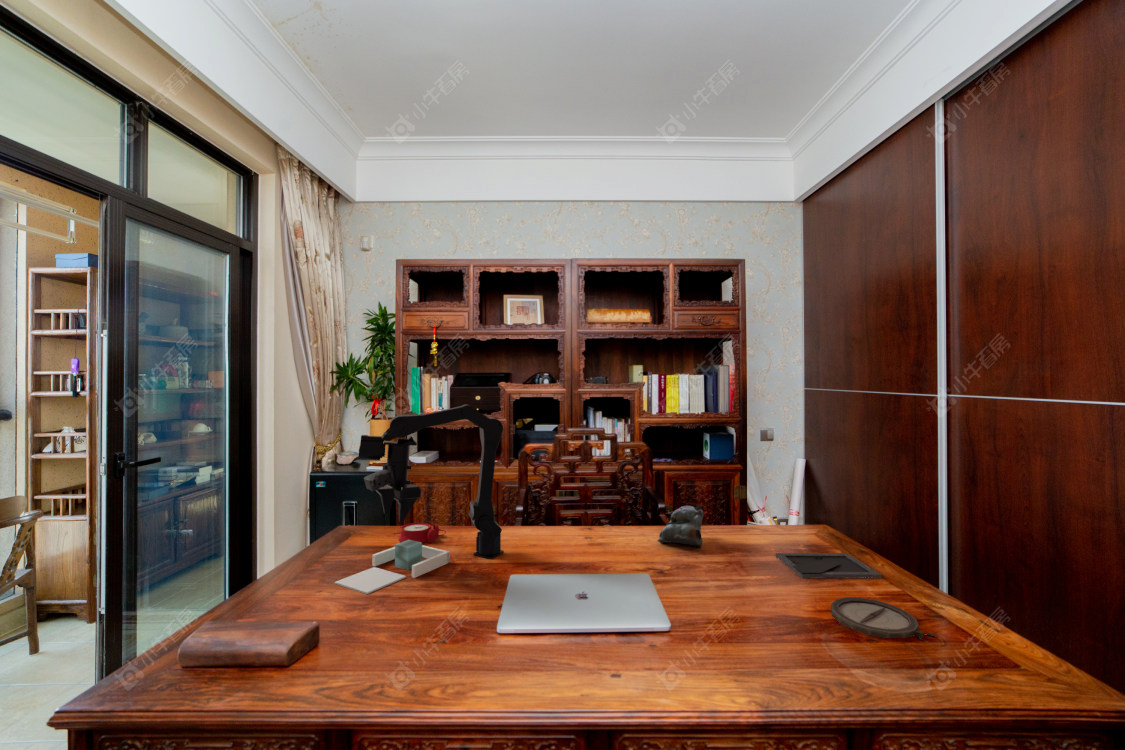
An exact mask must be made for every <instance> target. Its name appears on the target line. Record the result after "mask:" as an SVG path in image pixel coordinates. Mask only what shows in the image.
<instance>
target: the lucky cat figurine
mask: <svg viewBox="0 0 1125 750" xmlns="http://www.w3.org/2000/svg"><path fill="white" fill-rule="evenodd" d="M704 514H705V513H704V511H703V507H702V505H697V506H696V507H694V506H692V505H683V506H680V507H679V508H677V509H675V510H674V511H672V513H671V515H670V521H669V522H668V523H667V524H666V525H665V527H664V528H662V529H661V531H660V532H659V534H658V536H659V537H658V538H657V539H656V541H657V542H659V543H660V544H663V543H673V544H674V543H676V544H681V545H682V544H683V545H690V546H693V547H697V548H700V549H701V547H702V545H703V538H702V531H701V530H702V523H703V519H704Z"/></svg>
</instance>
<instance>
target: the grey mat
mask: <svg viewBox="0 0 1125 750" xmlns="http://www.w3.org/2000/svg"><path fill="white" fill-rule="evenodd" d="M406 578H407V576H406V575H404V574H400V573H396V572H393V571H389V570H386V569H382V568H379V567H377V566H375V567H374V566H372V567H370V568H367V569H365V570H363V571H360V572H358V573H355V574H352V575H349V576H347V577H344V578H342V579H340V580H337V581H335V582H334V585H338V586H341V587H344V588H347V589H350V590H352V591H355V592H359V593H362V594H365V595H369V594H371V593H373V592H375V591H378V590H381V589H383V588H385V587H387V586H390V585H392V584H395V583H397V582H399V581H402V580H403V579H404V580H405V579H406Z"/></svg>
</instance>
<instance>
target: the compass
mask: <svg viewBox="0 0 1125 750" xmlns="http://www.w3.org/2000/svg"><path fill="white" fill-rule="evenodd" d="M830 614H832V615H831V617H832V616H833V617H834V618H835V619H836V620H837V621H838V622H839V623H838V622H837V621H836V620H835V619H834V618H833V617H832V618H833V619H834V620H835V621H836V622H837V623H838V624H840V623H841V624H840V625H842V624H843V625H842V626H844V625H845V626H847V627H849V628H851V629H853V630H852V631H854V630H856V631H855V632H857V631H860V632H862V633H861V634H863V633H865V634H864V635H866V634H868V635H867V636H869V635H873V636H872V637H874V636H878V637H877V638H880V637H884V638H883V639H885V638H906V637H910V636H913V635H917V638H918V637H919V638H920V639H921V637H922V638H924V637H925V635H924V634H927V635H933V636H937V637H938V635H936V634H933V633H930V632H926V631H925V632H922V631H920V629H919V628H920V627H919V626H920V625H919V622H918V621H917V618H916V617H914V616H913V615H912V614H911V613H909V612H908V611H906V610H905V609H902V608H900V607H898V606H895V605H893V604H891V603H887V602H884V601H880V600H877V599H869V598H864V597H852V596H851V597H849V596H848V597H842V598H838V599H835V600H834V601H832V602H831V603H830ZM845 626H844V627H845ZM847 627H846V628H847ZM849 628H848V629H849ZM851 629H850V630H851ZM918 630H919V631H918ZM860 632H859V633H860ZM924 639H925V638H924ZM924 639H922V640H924Z"/></svg>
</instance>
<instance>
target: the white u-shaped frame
mask: <svg viewBox="0 0 1125 750" xmlns="http://www.w3.org/2000/svg"><path fill="white" fill-rule="evenodd" d="M450 555H451V553H450V551H448V550H444V549H440V548H436V547H432V546H427V545H423V544H422V559H423V558H424V560H422V561H421V562H419V563H417V564H414V565H412V569H411V578H413V579H415V578H417V577H420V576H422V575H424V574H426V573H430V572H431V571H433V570H435V569H438V568H440V567H443V566H444V565H447V564H449V563H451V562H450V560H451V559H450V558H451V557H450ZM393 560H395V546H393V547H389V548H387V549H384V550H382V551H379V552H376V553H374V554H372V555H371V565H372V567H377V566H381V565H382V564H385V563H387V562H390V561H393Z"/></svg>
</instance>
